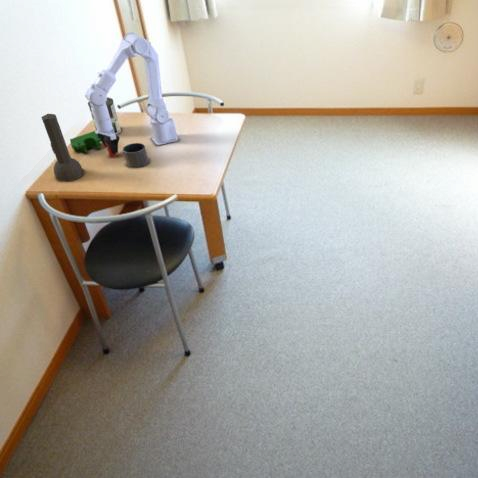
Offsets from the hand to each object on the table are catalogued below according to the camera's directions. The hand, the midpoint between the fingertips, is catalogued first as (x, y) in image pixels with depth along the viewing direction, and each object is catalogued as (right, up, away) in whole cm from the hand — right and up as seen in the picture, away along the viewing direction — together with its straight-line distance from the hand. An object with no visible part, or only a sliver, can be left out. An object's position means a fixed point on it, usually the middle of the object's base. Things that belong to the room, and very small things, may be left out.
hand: (111, 150), depth 199 cm
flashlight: (-11, -12, -10) cm, 19 cm away
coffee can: (-9, +11, +20) cm, 24 cm away
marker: (0, -2, +2) cm, 3 cm away
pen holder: (+12, -6, -3) cm, 13 cm away
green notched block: (-12, +1, +6) cm, 13 cm away
